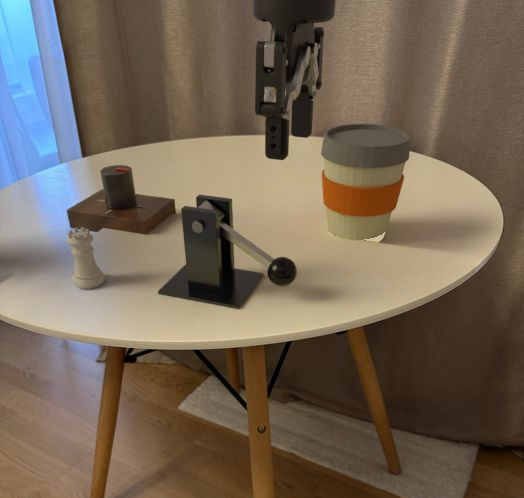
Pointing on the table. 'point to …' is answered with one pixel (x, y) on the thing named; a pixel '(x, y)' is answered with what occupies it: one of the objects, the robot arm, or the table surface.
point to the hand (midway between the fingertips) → (289, 146)
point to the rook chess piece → (84, 260)
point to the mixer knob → (118, 187)
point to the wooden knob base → (120, 214)
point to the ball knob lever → (258, 253)
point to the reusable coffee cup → (362, 177)
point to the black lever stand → (210, 259)
